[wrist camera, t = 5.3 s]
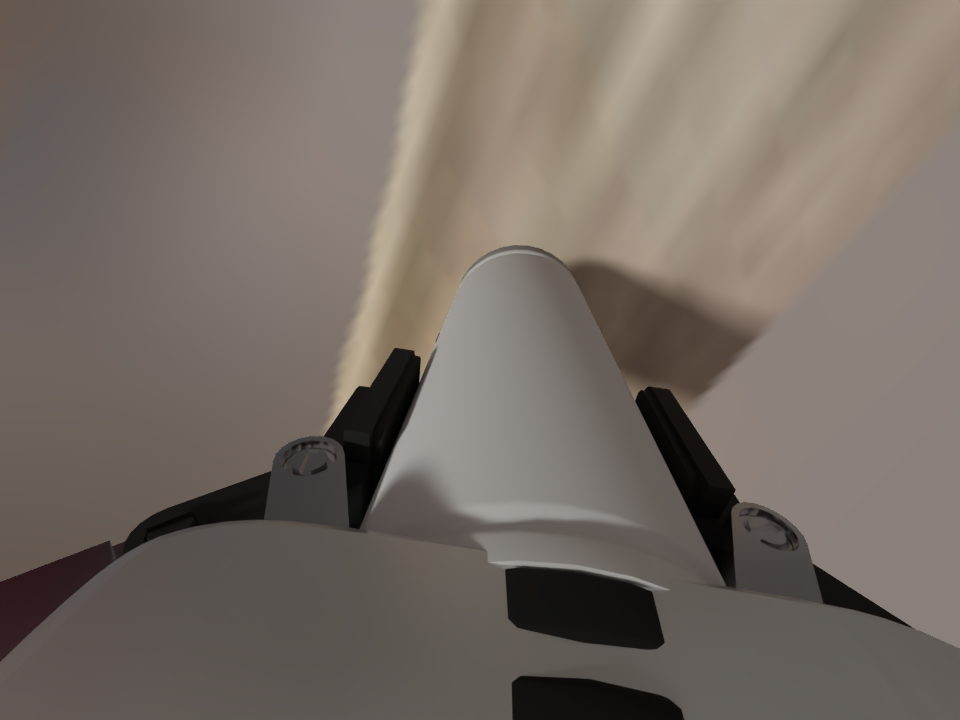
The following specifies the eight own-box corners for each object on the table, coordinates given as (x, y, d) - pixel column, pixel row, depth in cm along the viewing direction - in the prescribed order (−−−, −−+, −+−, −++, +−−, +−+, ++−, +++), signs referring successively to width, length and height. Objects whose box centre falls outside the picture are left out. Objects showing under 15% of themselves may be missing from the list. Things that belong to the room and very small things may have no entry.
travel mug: (611, 296, 20) (1450, 1513, 2) (520, 381, 22) (547, 1246, 5) (518, 209, 18) (673, 1962, 1) (432, 311, 21) (-27, 1200, 3)
